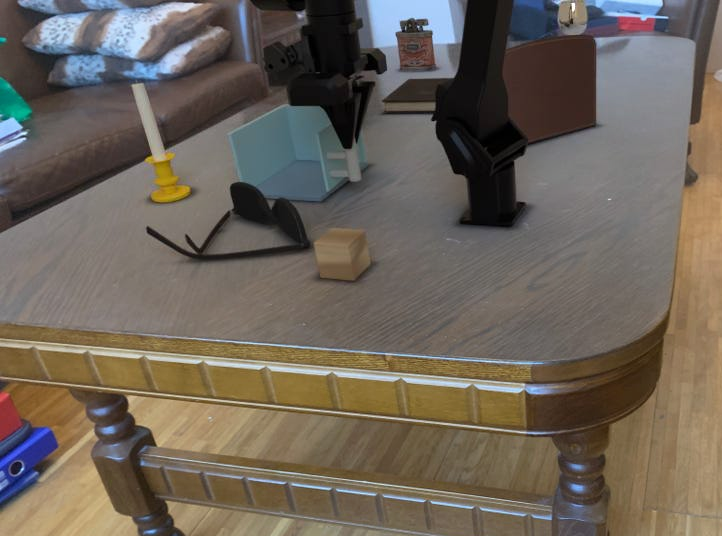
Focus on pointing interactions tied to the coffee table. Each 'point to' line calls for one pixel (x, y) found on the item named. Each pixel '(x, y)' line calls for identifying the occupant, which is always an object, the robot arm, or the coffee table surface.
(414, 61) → the lighter
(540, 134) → the letter holder
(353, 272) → the block
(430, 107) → the hardcover book
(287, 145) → the enclosure
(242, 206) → the sunglasses
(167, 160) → the candle
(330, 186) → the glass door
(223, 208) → the coffee table surface
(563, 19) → the wineglass
